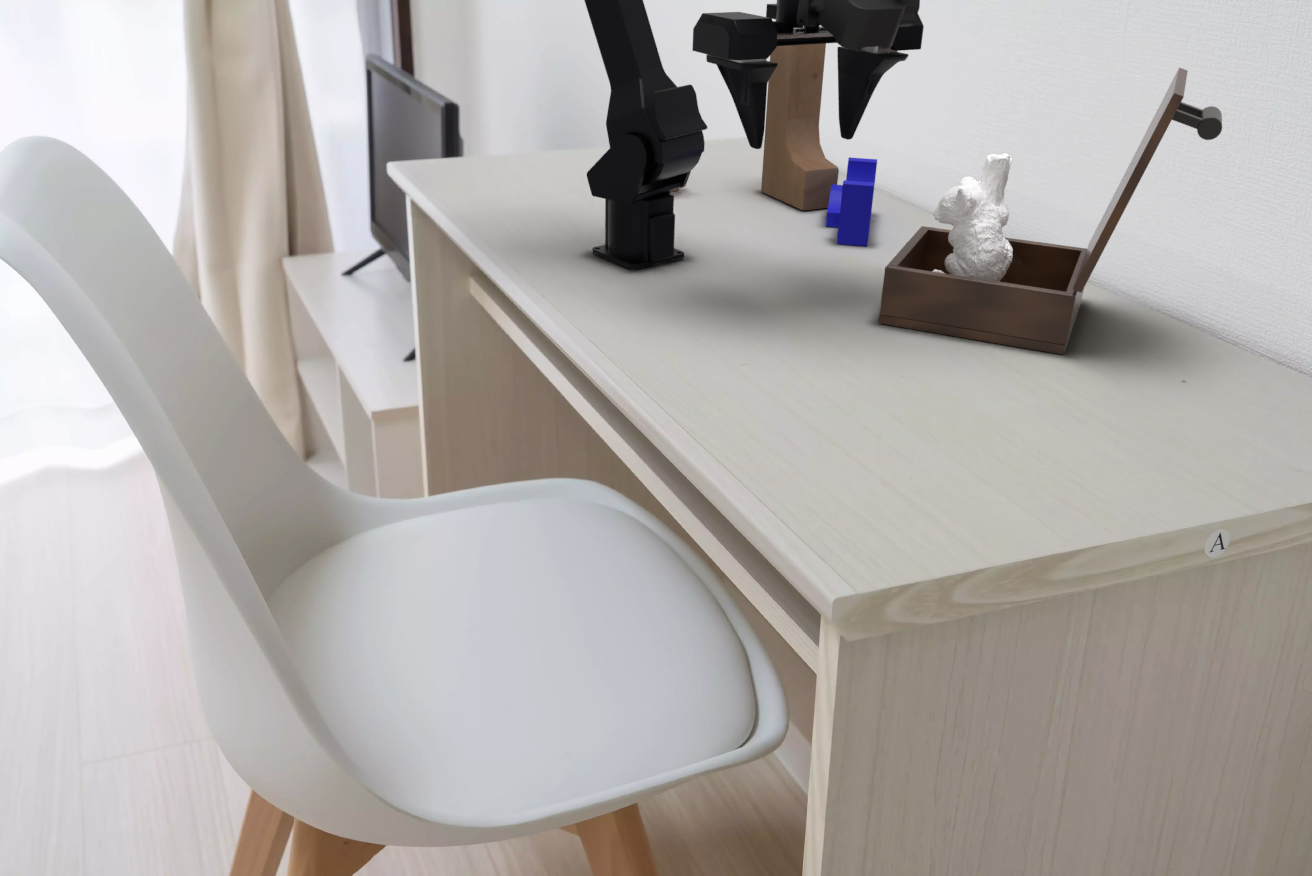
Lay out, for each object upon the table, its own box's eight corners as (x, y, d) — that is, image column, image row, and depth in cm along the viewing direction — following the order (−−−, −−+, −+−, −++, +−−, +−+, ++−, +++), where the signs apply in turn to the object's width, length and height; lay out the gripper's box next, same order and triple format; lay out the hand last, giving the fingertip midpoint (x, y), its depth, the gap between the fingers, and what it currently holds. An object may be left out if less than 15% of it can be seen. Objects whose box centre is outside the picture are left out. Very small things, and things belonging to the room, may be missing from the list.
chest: (878, 323, 92) (885, 267, 90) (914, 277, 103) (921, 225, 101) (1063, 355, 87) (1075, 296, 85) (1081, 302, 98) (1092, 249, 96)
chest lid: (1173, 92, 76) (1236, 115, 75) (1179, 67, 88) (1233, 87, 87) (1072, 289, 84) (1127, 312, 83) (1089, 243, 96) (1138, 262, 95)
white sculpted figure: (957, 278, 100) (978, 142, 95) (1027, 296, 96) (1053, 156, 91) (907, 300, 95) (926, 157, 89) (980, 320, 91) (1004, 172, 85)
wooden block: (836, 208, 124) (853, 36, 116) (802, 211, 122) (816, 38, 114) (792, 189, 131) (805, 26, 123) (759, 192, 129) (770, 27, 121)
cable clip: (829, 211, 123) (834, 156, 120) (871, 215, 122) (877, 159, 119) (821, 242, 112) (827, 182, 109) (867, 246, 111) (874, 186, 109)
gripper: (780, -59, 75) (764, 176, 82) (986, -59, 83) (956, 153, 90) (692, -67, 83) (685, 145, 90) (887, -67, 92) (866, 127, 99)
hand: (802, 143), depth 92 cm, fingers open, 9 cm apart
